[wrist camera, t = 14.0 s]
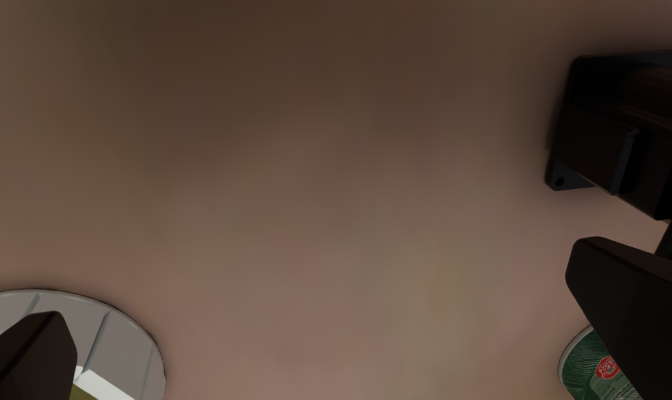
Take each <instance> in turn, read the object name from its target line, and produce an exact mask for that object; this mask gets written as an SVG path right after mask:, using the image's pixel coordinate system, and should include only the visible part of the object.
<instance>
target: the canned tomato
mask: <svg viewBox="0 0 672 400" xmlns="http://www.w3.org/2000/svg"><path fill="white" fill-rule="evenodd" d="M558 376H559V380H560V381H561V383H562V385H563V386H564V387H565V388H566V389H567V390H568V391H569V392H570V394H571V395H572V396H573V398H574V399H575V400H643V399H642V398H641V397H640V395H639V394H638V393H637V391H636V390H635V389H634V387H633V386H632V385H631V383H630V382H629V381H628V379H627V378H626V377H625V375H624V374H623V373H622V371H621V370H620V369H619V367H618V366H617V364H616V363H615V362H614V360H613V359H612V357H611V356H610V354H609V353H608V351H607V350H606V348H605V347H604V345H603V343H602V342H601V340H600V339H599V337H598V335H597V334H596V332H595V330H594V329H593V327H592V326H591V325H589V326H588V327H587V328H585V329H584V330H583V331H581V332H580V333H579V334H578V335H577V336H576V337H575V338H574V339H573V340H572V341H571V343H570V344H569V345H568V346H567V348H566V349H565V351H564V353H563V355H562V356H561V359H560V362H559V366H558Z"/></svg>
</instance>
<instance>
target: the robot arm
mask: <svg viewBox="0 0 672 400" xmlns="http://www.w3.org/2000/svg"><path fill="white" fill-rule="evenodd" d="M585 64H586V68H585V70H584V71H583V72H582V68H583V66H584V65H585ZM558 178H559V180H558V181H557V182H556V183H555V181H556V180H557V179H558ZM546 184H547V186H548V187H550V188H551V189H553V190H554V191H561V190H569V189H578V188H587V187H595V186H597V187H599V188H600V189H602V190H604V191H605V192H607V193H608V194H610V195H613V196H617V197H618V198H620V199H622V200H623V201H625V202H626V203H628V204H630V205H631V206H633V207H635V208H636V209H638V210H639V211H641V212H643V213H644V214H646V215H648V216H649V217H651V218H653V219H654V220H658V221H659V220H662V221H663V222H665V223H667V224H668V227H667V229H666V231H665V233H664V235H663V237H662V239H661V241H660V243H659V245H658V247H657V249H656V251H655V252H654V254H651V253H648V252H645V251H642V250H639V249H636V248H633V247H630V246H627V245H624V244H621V243H618V242H615V241H612V240H609V239H606V238H603V237H598V236H596V237H588V238H581V239H579V240H577V241H576V242H575V243H574V245H573V248H572V251H571V255H570V258H569V262H568V266H567V269H566V273H565V279H566V283H567V286H568V288H569V290H570V291H571V293H572V295H573V296H574V298H575V299H576V301H577V303H578V304H579V306H580V308H581V309H582V311H583V313H584V314H585V316H586V317H587V319H588V321H589V322H590V324H591V326H592V327H593V329H594V330H595V332H596V334H597V335H598V337H599V339H600V340H601V342H602V343H603V345H604V347H605V348H606V350H607V351H608V353H609V354H610V356H611V357H612V359H613V360H614V362H615V363H616V364H617V366H618V367H619V369H620V370H621V371H622V373H623V374H624V375H625V377H626V378H627V379H628V381H629V382H630V383H631V385H632V386H633V387H634V389H635V390H636V391H637V393H638V394H639V395H640V397H641V398H642V399H643V400H672V50H662V51H647V52H631V53H615V54H600V55H584V56H580V57H578V58H577V59H576V60H575V61H574V62H573V64H572V66H571V69H570V74H569V78H568V83H567V87H566V92H565V96H564V100H563V105H562V109H561V114H560V118H559V123H558V127H557V131H556V136H555V140H554V145H553V149H552V154H551V159H550V163H549V167H548V172H547V176H546ZM77 359H78V354H77V348H76V345H75V343H74V340H73V338H72V336H71V333H70V331H69V328H68V326H67V324H66V321H65V319H64V317H63V315H62V314H61V313H60V312H58V311H55V310H53V311H46V312H38V313H32V314H29V315H27V316H25V317H24V318H22V319H21V320H20V321H18V322H17V323H15V324H14V325H13V326H11V327H10V328H9V329H7V330H6V331H4V332H3V333H2V334H0V400H69V399H70V395H71V390H72V385H73V380H74V375H75V371H76V366H77Z"/></svg>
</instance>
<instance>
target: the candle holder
mask: <svg viewBox="0 0 672 400" xmlns="http://www.w3.org/2000/svg"><path fill="white" fill-rule="evenodd" d="M53 310H55V311H58V312H60V313H61V314H62V315H63V317H64V319H65V321H66V324H67V326H68V328H69V331H70V333H71V336H72V338H73V340H74V343H75V345H76V348H77V354H78V359H77V366H76V371H75V375H74V380H73V384H75V385H76V386H78V387H79V388H81V389H83V390H84V391H86V392H87V393H89V394H91V395H92V396H94V397H95V398H97V399H98V400H163V398H164V392H165V387H166V380H165V376H164V366H163V361H162V357H161V354H160V352H159V349H158V347H157V346H156V344H155V342H154V341H153V339H152V338H151V337H150V335H149V334H148V333H147V332H146V331H145V330H144V329H143V328H142V327H141V326H140V325H139V324H138V323H137V322H135V321H134V320H133V319H131V318H130V317H128V316H127V315H125V314H124V313H122V312H121V311H119V310H117V309H115V308H113V307H111V306H109V305H107V304H104V303H102V302H99V301H97V300H94V299H91V298H88V297H84V296H81V295H77V294H72V293H67V292H62V291H53V290H39V289H24V290H11V291H4V292H0V334H2V333H3V332H4V331H6V330H7V329H9V328H10V327H11V326H13V325H14V324H15V323H17V322H18V321H20V320H21V319H22V318H24V317H25V316H27V315H29V314H32V313H38V312H46V311H53Z"/></svg>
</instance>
